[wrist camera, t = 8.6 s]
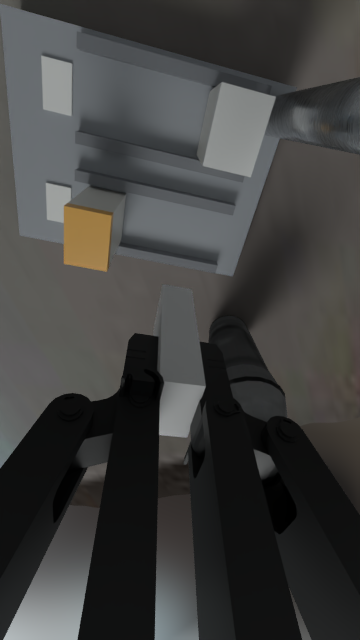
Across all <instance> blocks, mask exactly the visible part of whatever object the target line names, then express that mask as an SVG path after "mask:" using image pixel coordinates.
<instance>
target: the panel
mask: <svg viewBox="0 0 360 640" xmlns="http://www.w3.org/2000/svg"><path fill="white" fill-rule="evenodd" d="M0 14H1V26H2V37H3V49H4V60H5V72H6V83H7V94H8V106H9V117H10V129H11V140H12V152H13V163H14V175H15V186H16V198H17V209H18V221H19V232H20V235H21V236H26V237H31V238H36V239H41V240H46V241H52V242H57V243H62V244H64V205H65V204H67V203H68V202H69V201H71V200H72V199H73V198H74V197H76V196H77V195H78V194H79V193H81V192H82V191H83V190H85V189H86V188H87V187H88V186H94V187H98V188H103V189H107V190H112V191H117V192H121V193H126V200H125V209H124V219H123V229H122V238H121V242H120V244H119V246H118V248H117V250H116V253H115V254H117V255H123V256H128V257H133V258H138V259H143V260H149V261H154V262H159V263H164V264H169V265H175V266H180V267H185V268H190V269H195V270H200V271H206V272H211V273H218V274H223V275H228V276H233V274H234V271H235V269H236V266H237V263H238V260H239V257H240V254H241V251H242V248H243V245H244V242H245V239H246V236H247V233H248V230H249V227H250V224H251V221H252V219H253V216H254V213H255V210H256V207H257V204H258V201H259V198H260V195H261V192H262V189H263V186H264V183H265V180H266V177H267V174H268V172H269V169H270V166H271V163H272V160H273V157H274V154H275V151H276V148H277V145H278V142H279V139H280V138H275V137H271V136H266V135H264V137H263V140H262V143H261V146H260V149H259V153H258V156H257V159H256V162H255V165H254V169H253V172H252V175H251V177H247V176H243V175H239V174H234V173H230V172H226V171H222V170H217V169H213V168H209V167H205V166H202V164H201V162H200V160H199V158H198V156H197V155H196V154H197V149H198V144H199V140H200V135H201V130H202V126H203V121H204V116H205V111H206V107H207V102H208V97H209V93H210V91H211V90H212V89H213V88H215V87H216V86H217V85H219V84H220V83H221V82H224V83H227V84H231V85H235V86H238V87H242V88H246V89H249V90H253V91H257V92H260V93H264V94H267V95H271V96H276V95H281V94H285V93H290V92H295V91H296V89H297V87H293V86H290V85H286V84H283V83H279V82H276V81H272V80H269V79H265V78H262V77H258V76H254V75H251V74H247V73H244V72H240V71H237V70H233V69H230V68H226V67H223V66H219V65H215V64H212V63H208V62H205V61H201V60H198V59H194V58H191V57H187V56H184V55H180V54H176V53H173V52H169V51H166V50H162V49H159V48H155V47H152V46H148V45H145V44H141V43H137V42H134V41H130V40H127V39H123V38H120V37H116V36H113V35H109V34H106V33H102V32H98V31H95V30H91V29H88V28H84V27H81V26H77V25H74V24H70V23H67V22H63V21H59V20H56V19H52V18H49V17H45V16H42V15H38V14H35V13H31V12H28V11H24V10H20V9H17V8H13V7H10V6H6V5H3V4H0Z"/></svg>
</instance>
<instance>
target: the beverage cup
mask: <svg viewBox="0 0 360 640" xmlns="http://www.w3.org/2000/svg"><path fill="white" fill-rule="evenodd" d="M209 343H211V344H216V345H217V346H218V347H219V349H220V350H221V351H222V353H223V357H224V361H225V362H224V363H225V365H226V370H227V374H228V378H229V382H230V387H231V391H232V395H233V398H234V399H236V400H237V401H238V402H239V403H240V405H241V407H242V409H243V411H244V412H245V413H247V414H249V415H251V416H253V417H255V418H258V419H261V420H263V421H266V422H267V421H268V420H269V419H270V418H271V417H274V416H284V417H286V418H287V410H286V402H285V393H284V392H283V390H282V389H281V387H280V386H279V385H278V384H277V382H276V381H275V379H274V378H273V376H272V375H271V374H270V372H269V371H268V369H267V367H266V365H265V363H264V361H263V359H262V357H261V355H260V353H259V351H258V349H257V347H256V345H255V342H254V340H253V338H252V336H251V334H250V332H249V331H248V329H247V328H246V326H245V324H244V322H243V321H242V320H241V319H239V318H237V317H234V316H224V317H221V318H219V319H217V320H215V321H214V322H213V323H212V325H211V327H210V330H209Z"/></svg>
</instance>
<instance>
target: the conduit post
mask: <svg viewBox="0 0 360 640" xmlns="http://www.w3.org/2000/svg"><path fill="white" fill-rule="evenodd" d="M275 97H276V98H275V102H274V105H273V108H272V111H271V114H270V118H269V121H268V124H267V127H266V130H265V134H264V135H266V136H271V137H275V138H280V139H285V140H290V141H295V142H300V143H305V144H310V145H315V146H320V147H325V148H330V149H335V150H339V151H344V152H349V153H354V154H359V155H360V77H358V78H354V79H349V80H345V81H340V82H336V83H331V84H327V85H322V86H317V87H313V88H308V89H304V90H299V91H295V92H290V93H285V94H281V95H276V96H275Z"/></svg>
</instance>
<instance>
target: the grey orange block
mask: <svg viewBox="0 0 360 640" xmlns="http://www.w3.org/2000/svg"><path fill="white" fill-rule="evenodd" d="M125 200H126V193H121V192H117V191H112V190H107V189H103V188H98V187H94V186H88V187H87V188H86V189H85V190H83V191H82V192H81V193H79V194H78V195H77V196H76V197H74V198H73V199H72V200H71V201H69V202H68V203H67V204H65V205H64V264H68V265H74V266H79V267H84V268H90V269H95V270H101V271H106V272H107V270H108V268H109V266H110V264H111V261H112V259H113V257H114V255H115V253H116V250H117V248H118V246H119V244H120V242H121V238H122V229H123V219H124V209H125Z"/></svg>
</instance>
